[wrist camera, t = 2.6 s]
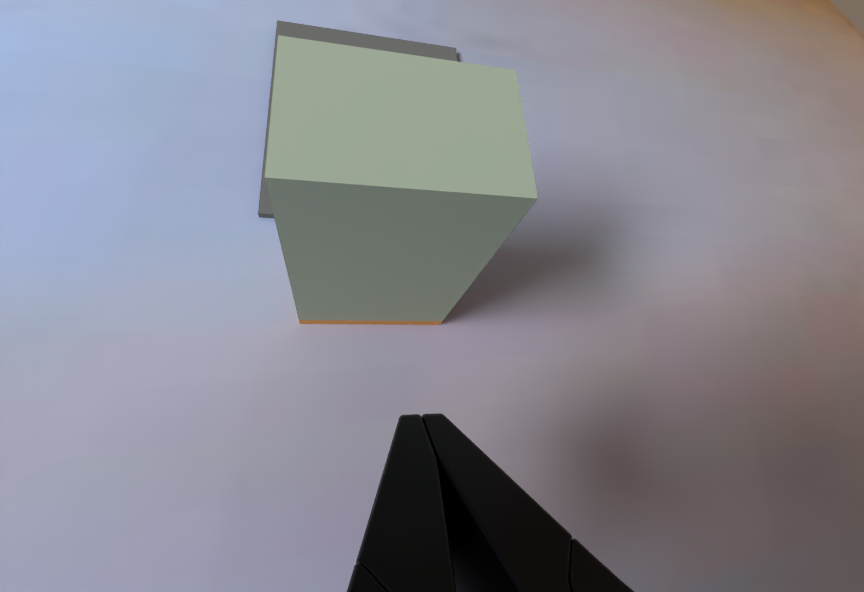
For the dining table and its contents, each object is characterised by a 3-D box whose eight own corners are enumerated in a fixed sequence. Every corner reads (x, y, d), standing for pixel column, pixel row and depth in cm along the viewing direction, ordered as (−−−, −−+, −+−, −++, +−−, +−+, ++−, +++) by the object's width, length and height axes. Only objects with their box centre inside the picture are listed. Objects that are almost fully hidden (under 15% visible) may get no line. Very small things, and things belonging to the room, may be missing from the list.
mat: (473, 229, 21) (474, 226, 21) (259, 216, 19) (258, 213, 19) (454, 52, 25) (455, 48, 25) (277, 25, 23) (277, 20, 23)
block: (440, 324, 19) (537, 198, 10) (299, 323, 18) (264, 177, 9) (434, 244, 20) (515, 70, 11) (304, 238, 19) (278, 34, 10)
